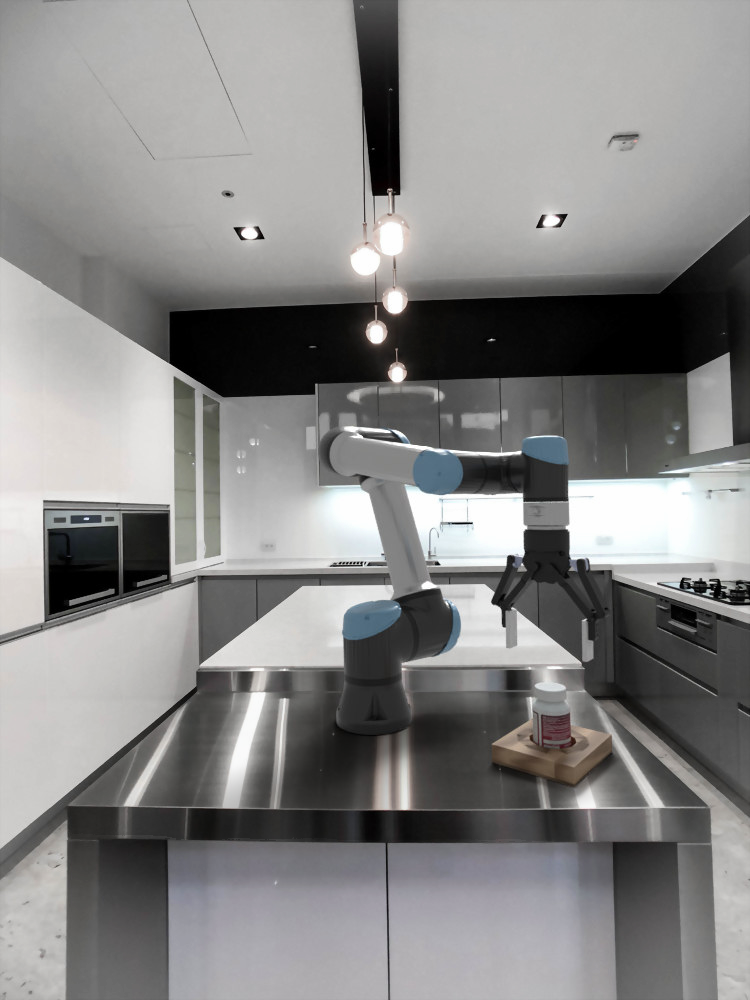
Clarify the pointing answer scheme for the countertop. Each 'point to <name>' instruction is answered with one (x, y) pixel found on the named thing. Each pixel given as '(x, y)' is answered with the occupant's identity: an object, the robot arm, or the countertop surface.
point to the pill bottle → (551, 716)
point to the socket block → (553, 754)
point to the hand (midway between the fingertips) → (548, 653)
